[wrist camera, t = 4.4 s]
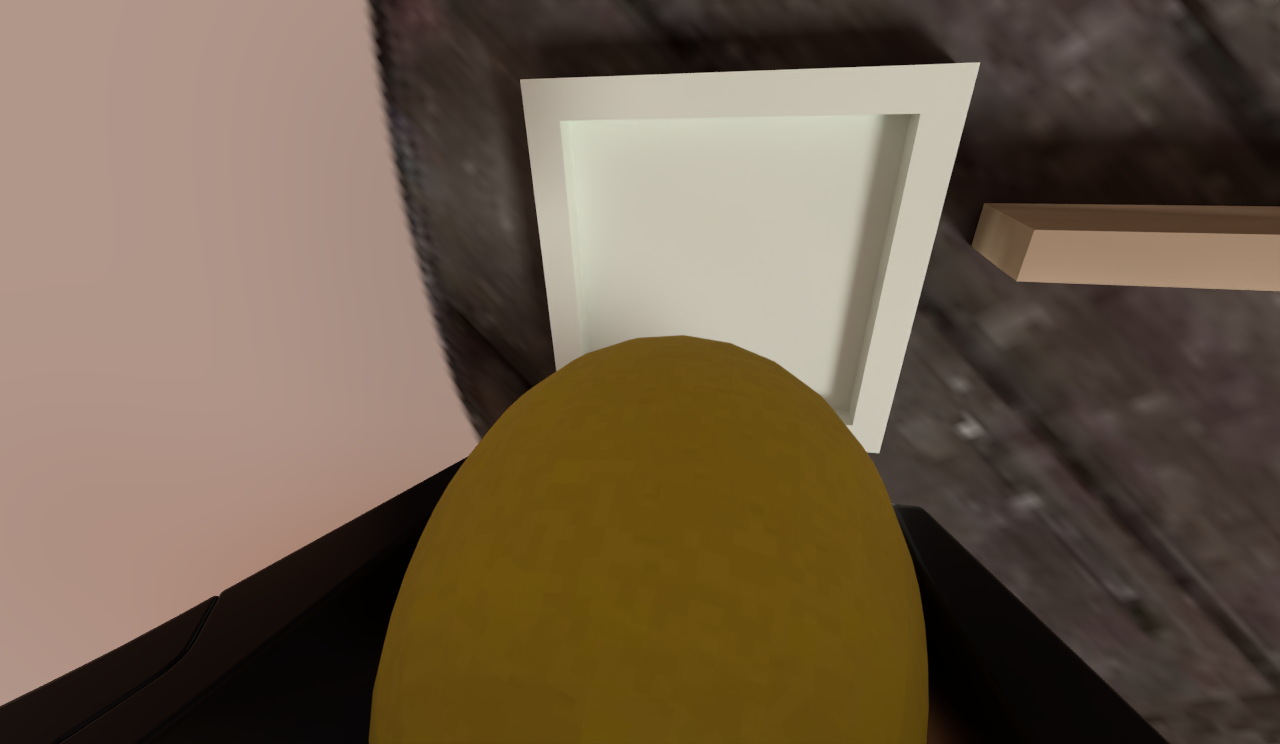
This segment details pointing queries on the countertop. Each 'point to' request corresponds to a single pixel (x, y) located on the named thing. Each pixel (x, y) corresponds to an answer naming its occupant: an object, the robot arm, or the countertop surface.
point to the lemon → (659, 570)
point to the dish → (749, 214)
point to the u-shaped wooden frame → (1134, 244)
